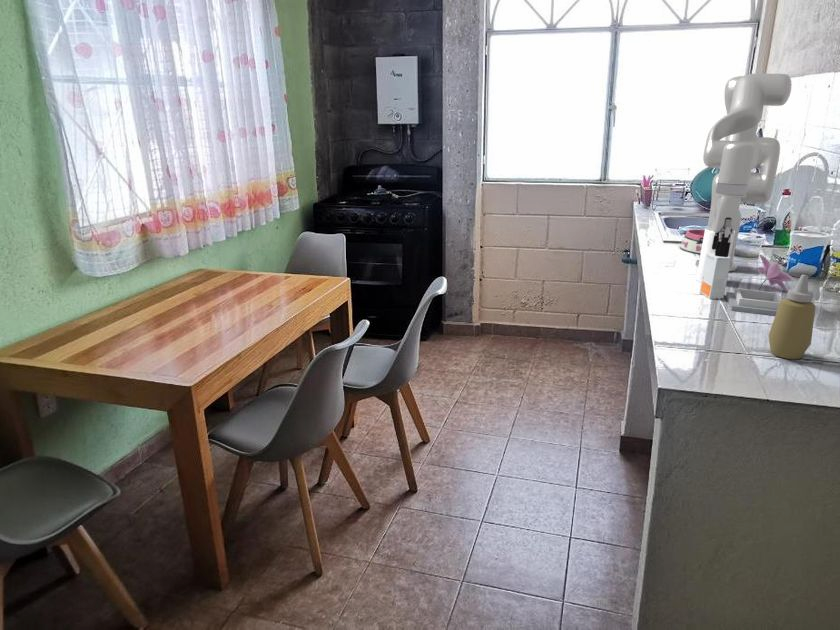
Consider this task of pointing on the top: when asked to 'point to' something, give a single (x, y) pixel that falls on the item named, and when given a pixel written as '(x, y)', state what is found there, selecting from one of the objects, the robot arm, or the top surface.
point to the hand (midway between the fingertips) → (719, 253)
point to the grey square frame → (754, 301)
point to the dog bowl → (693, 241)
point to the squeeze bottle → (793, 322)
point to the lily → (773, 273)
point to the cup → (709, 250)
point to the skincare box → (715, 276)
